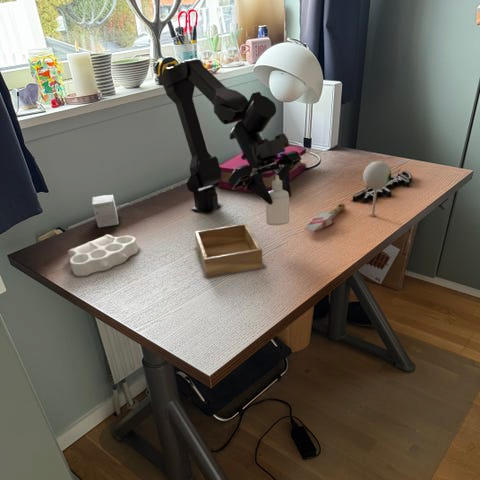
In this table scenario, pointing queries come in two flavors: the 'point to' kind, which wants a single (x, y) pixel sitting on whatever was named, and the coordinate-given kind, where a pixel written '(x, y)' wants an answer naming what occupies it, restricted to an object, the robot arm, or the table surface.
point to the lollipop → (376, 178)
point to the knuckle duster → (101, 254)
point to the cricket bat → (323, 218)
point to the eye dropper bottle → (278, 205)
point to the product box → (105, 210)
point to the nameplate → (394, 182)
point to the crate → (228, 250)
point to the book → (267, 177)
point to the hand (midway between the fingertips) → (280, 200)
